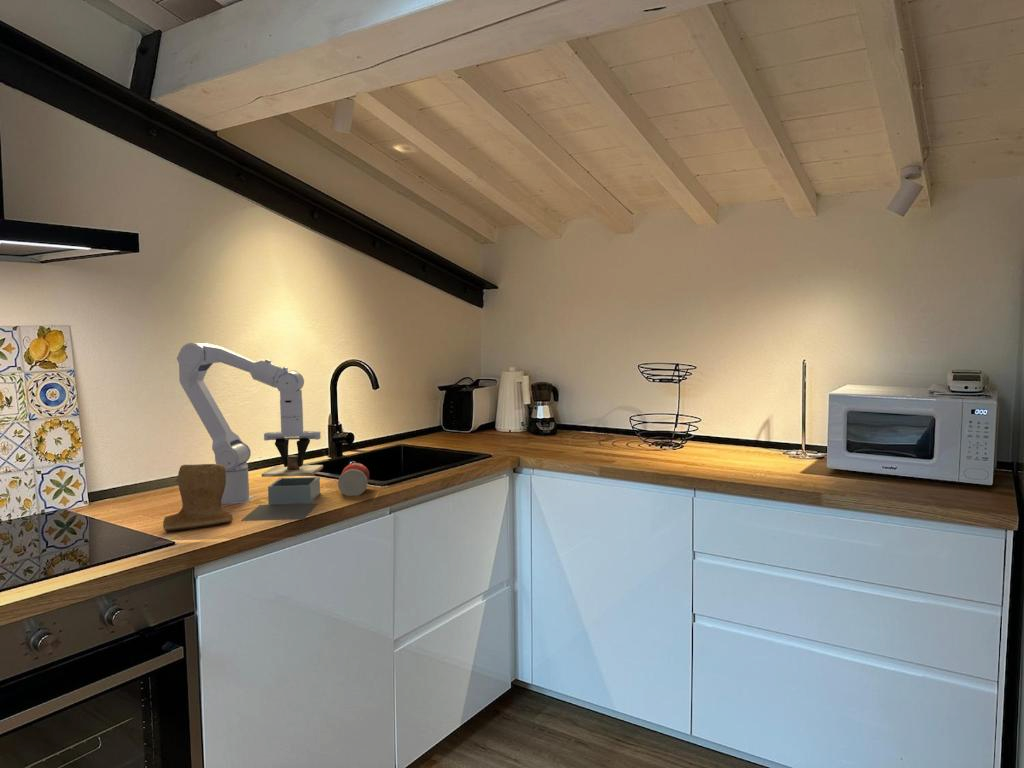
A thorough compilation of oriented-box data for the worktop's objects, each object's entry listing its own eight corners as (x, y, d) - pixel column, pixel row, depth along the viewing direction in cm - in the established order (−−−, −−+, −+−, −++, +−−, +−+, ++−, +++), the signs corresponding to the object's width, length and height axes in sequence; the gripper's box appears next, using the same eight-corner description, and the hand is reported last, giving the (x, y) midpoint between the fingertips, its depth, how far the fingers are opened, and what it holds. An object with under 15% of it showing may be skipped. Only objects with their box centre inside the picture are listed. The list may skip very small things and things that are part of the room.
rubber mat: (240, 522, 165) (240, 520, 165) (259, 506, 180) (259, 504, 180) (304, 520, 166) (303, 518, 166) (317, 505, 180) (317, 503, 180)
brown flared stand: (227, 515, 172) (225, 456, 170) (235, 526, 161) (233, 463, 160) (159, 524, 164) (156, 462, 163) (164, 537, 154) (160, 471, 152)
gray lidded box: (268, 505, 181) (268, 486, 180) (280, 495, 192) (279, 477, 191) (311, 504, 181) (310, 485, 181) (320, 494, 192) (319, 477, 192)
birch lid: (261, 476, 178) (261, 460, 178) (275, 468, 191) (275, 453, 191) (312, 475, 179) (311, 459, 179) (323, 467, 192) (322, 452, 192)
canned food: (336, 472, 198) (332, 480, 188) (360, 456, 199) (357, 464, 188) (351, 493, 200) (347, 502, 189) (374, 478, 200) (372, 486, 189)
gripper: (259, 418, 180) (261, 469, 181) (315, 417, 181) (317, 468, 182) (267, 415, 187) (269, 464, 188) (321, 414, 188) (323, 463, 189)
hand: (293, 466), depth 185 cm, fingers closed on birch lid, 3 cm apart
